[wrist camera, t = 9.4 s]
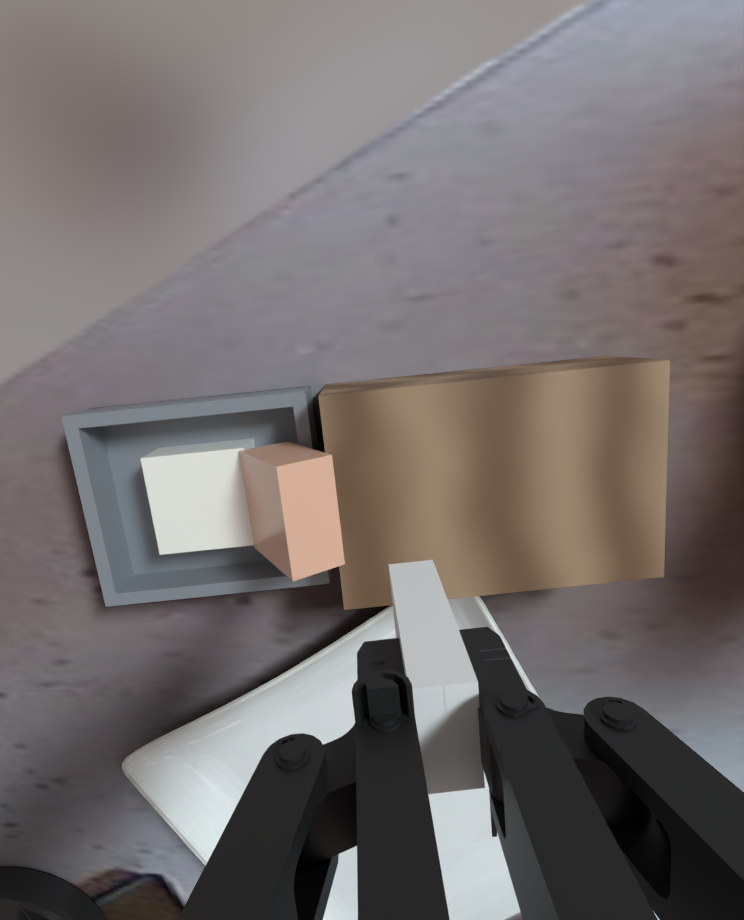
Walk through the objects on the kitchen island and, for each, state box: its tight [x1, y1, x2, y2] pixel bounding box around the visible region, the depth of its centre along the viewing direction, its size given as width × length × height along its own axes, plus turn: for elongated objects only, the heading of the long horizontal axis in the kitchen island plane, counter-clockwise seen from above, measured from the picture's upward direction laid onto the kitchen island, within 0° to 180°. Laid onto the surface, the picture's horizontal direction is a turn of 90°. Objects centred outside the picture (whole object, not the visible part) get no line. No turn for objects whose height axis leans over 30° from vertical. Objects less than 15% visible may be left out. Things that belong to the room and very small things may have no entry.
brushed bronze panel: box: [318, 356, 670, 610], centre depth 32 cm, size 18×12×7 cm, turn 96°
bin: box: [61, 386, 331, 607], centre depth 33 cm, size 14×12×4 cm
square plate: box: [122, 596, 539, 920], centre depth 39 cm, size 27×27×4 cm
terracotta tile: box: [239, 441, 345, 581], centre depth 29 cm, size 6×6×3 cm
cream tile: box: [140, 438, 255, 555], centre depth 33 cm, size 6×6×3 cm
